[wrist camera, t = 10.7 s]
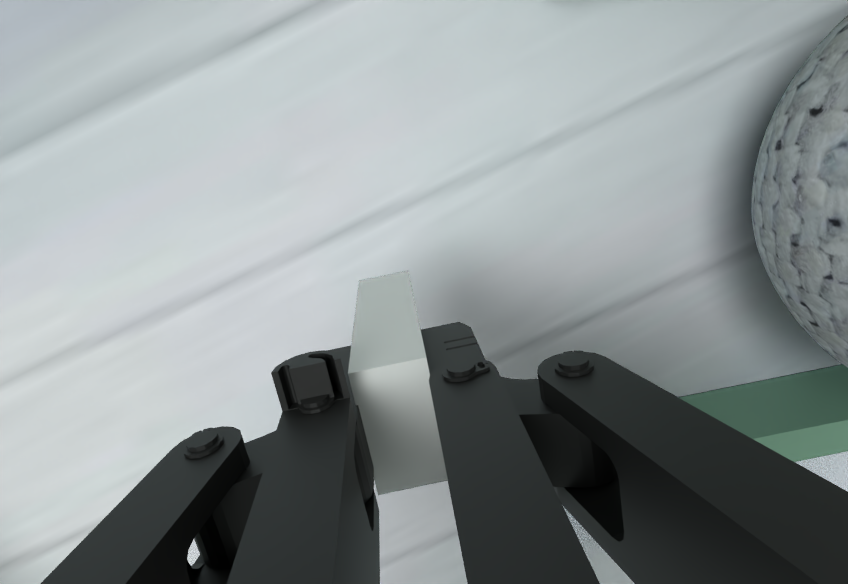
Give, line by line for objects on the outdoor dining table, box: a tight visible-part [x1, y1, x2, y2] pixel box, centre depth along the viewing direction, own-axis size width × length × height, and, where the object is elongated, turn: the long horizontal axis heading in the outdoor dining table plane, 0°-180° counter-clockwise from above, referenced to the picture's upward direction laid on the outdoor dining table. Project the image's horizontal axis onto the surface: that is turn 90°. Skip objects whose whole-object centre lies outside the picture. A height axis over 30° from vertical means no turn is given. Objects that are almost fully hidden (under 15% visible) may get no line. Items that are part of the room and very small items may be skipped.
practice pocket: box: [678, 365, 848, 462], centre depth 22 cm, size 22×22×4 cm
